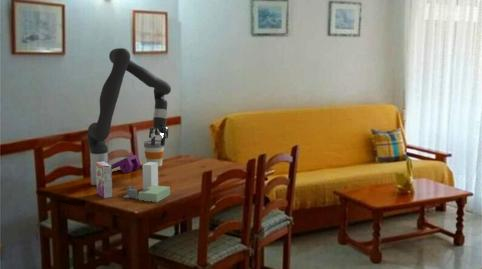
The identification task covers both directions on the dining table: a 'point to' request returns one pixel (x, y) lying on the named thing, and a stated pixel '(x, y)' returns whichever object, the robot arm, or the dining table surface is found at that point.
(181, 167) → the dining table surface
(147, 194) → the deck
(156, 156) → the reusable coffee cup
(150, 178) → the tall white pillar block
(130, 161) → the mounting bracket
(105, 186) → the candy bar box
